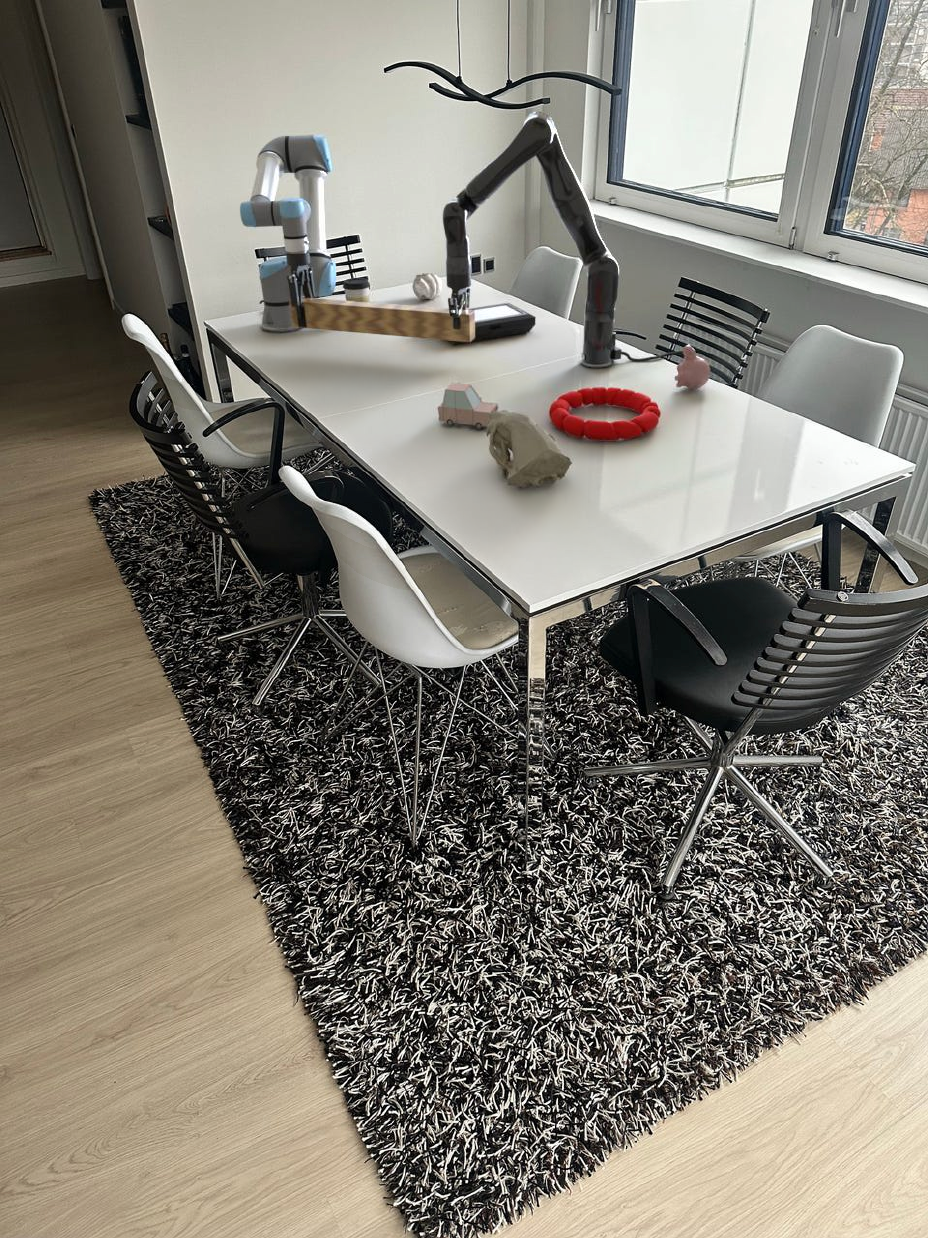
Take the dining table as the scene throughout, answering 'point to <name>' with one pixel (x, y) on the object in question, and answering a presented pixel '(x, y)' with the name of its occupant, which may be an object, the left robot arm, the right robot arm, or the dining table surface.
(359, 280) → the coffee cup
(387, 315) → the beam
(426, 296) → the seashell
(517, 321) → the electronic device
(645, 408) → the decorative ring
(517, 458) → the grey brown rock
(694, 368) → the figurine
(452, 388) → the toy car
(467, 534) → the dining table surface
